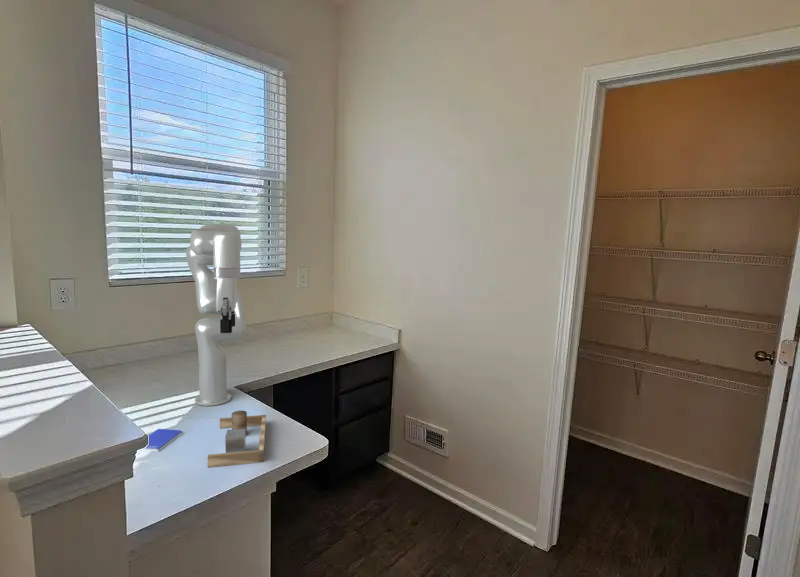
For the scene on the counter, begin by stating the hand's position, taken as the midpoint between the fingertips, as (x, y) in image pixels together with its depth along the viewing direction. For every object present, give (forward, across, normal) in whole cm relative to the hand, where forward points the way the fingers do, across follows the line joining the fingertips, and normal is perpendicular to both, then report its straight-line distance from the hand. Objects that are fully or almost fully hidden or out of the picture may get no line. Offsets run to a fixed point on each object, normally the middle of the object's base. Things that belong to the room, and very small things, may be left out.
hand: (228, 329), depth 136 cm
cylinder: (+33, +1, +3) cm, 33 cm away
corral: (+33, +7, +3) cm, 34 cm away
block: (+33, +13, +3) cm, 36 cm away
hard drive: (+34, +1, -20) cm, 40 cm away
